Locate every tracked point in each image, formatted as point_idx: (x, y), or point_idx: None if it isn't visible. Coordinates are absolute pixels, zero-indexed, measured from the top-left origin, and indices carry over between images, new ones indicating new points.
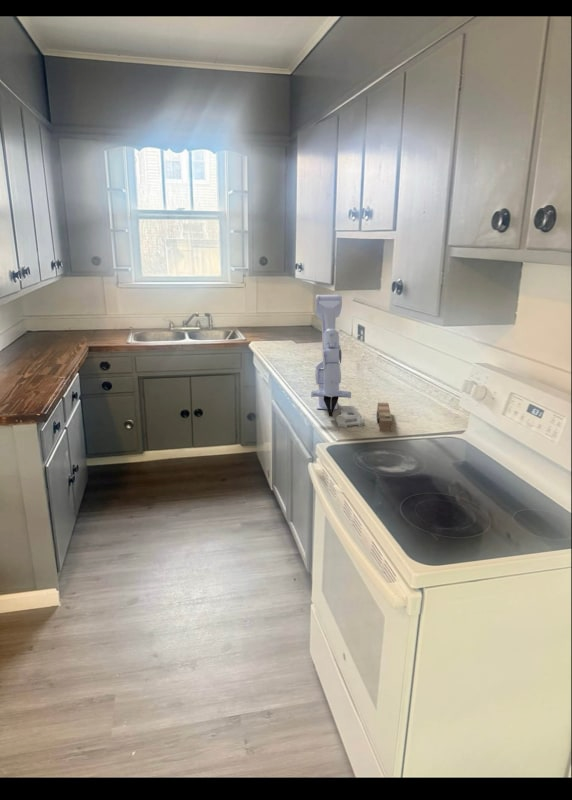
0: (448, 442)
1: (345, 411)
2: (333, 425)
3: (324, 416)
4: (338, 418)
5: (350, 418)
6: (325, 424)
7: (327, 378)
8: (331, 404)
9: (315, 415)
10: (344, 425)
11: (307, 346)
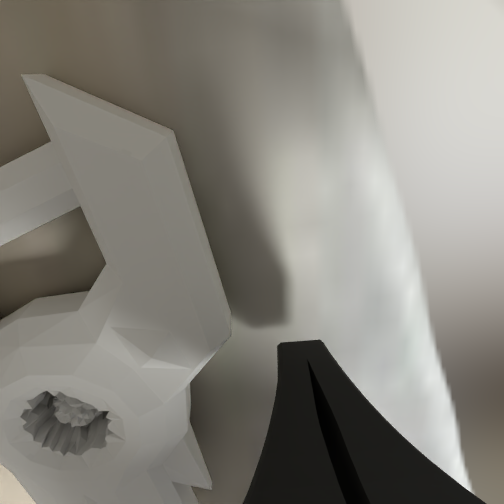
0: None
1: (136, 457)
2: (247, 165)
3: None
4: (191, 278)
5: (41, 323)
6: (349, 184)
7: None
8: (337, 488)
9: (435, 396)
10: (67, 92)
11: None
